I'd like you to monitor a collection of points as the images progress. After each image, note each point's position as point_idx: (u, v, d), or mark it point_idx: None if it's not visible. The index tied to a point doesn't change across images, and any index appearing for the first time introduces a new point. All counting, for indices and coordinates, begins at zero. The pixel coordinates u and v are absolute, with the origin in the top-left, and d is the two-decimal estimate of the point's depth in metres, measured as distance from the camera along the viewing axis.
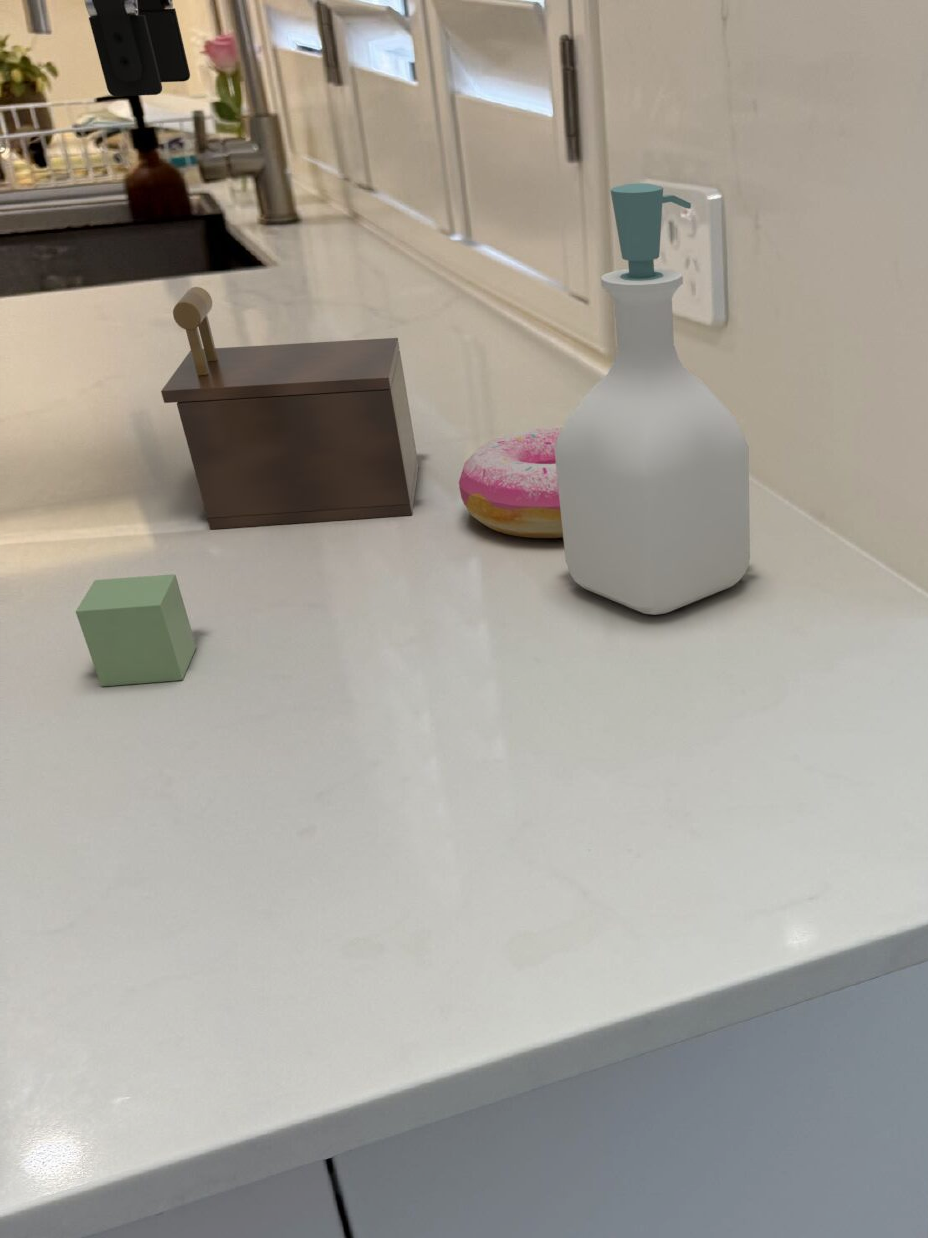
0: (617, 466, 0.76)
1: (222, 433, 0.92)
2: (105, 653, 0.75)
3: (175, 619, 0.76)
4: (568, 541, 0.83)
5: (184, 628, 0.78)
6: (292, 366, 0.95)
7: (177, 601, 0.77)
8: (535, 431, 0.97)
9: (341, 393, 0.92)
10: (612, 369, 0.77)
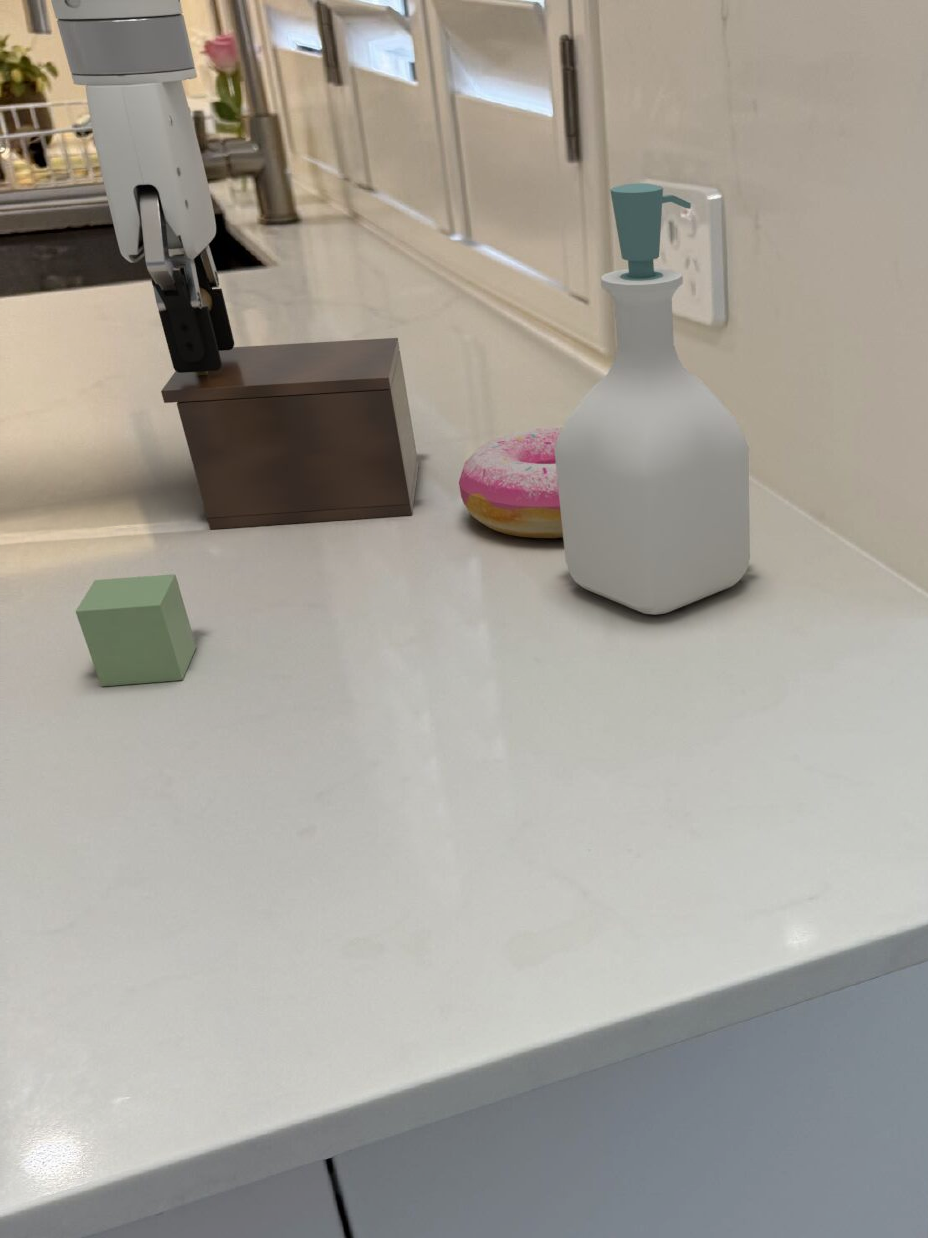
0: (617, 466, 0.76)
1: (222, 433, 0.92)
2: (105, 653, 0.75)
3: (175, 619, 0.76)
4: (568, 541, 0.83)
5: (184, 628, 0.78)
6: (292, 366, 0.95)
7: (177, 601, 0.77)
8: (535, 431, 0.97)
9: (341, 393, 0.92)
10: (611, 369, 0.77)
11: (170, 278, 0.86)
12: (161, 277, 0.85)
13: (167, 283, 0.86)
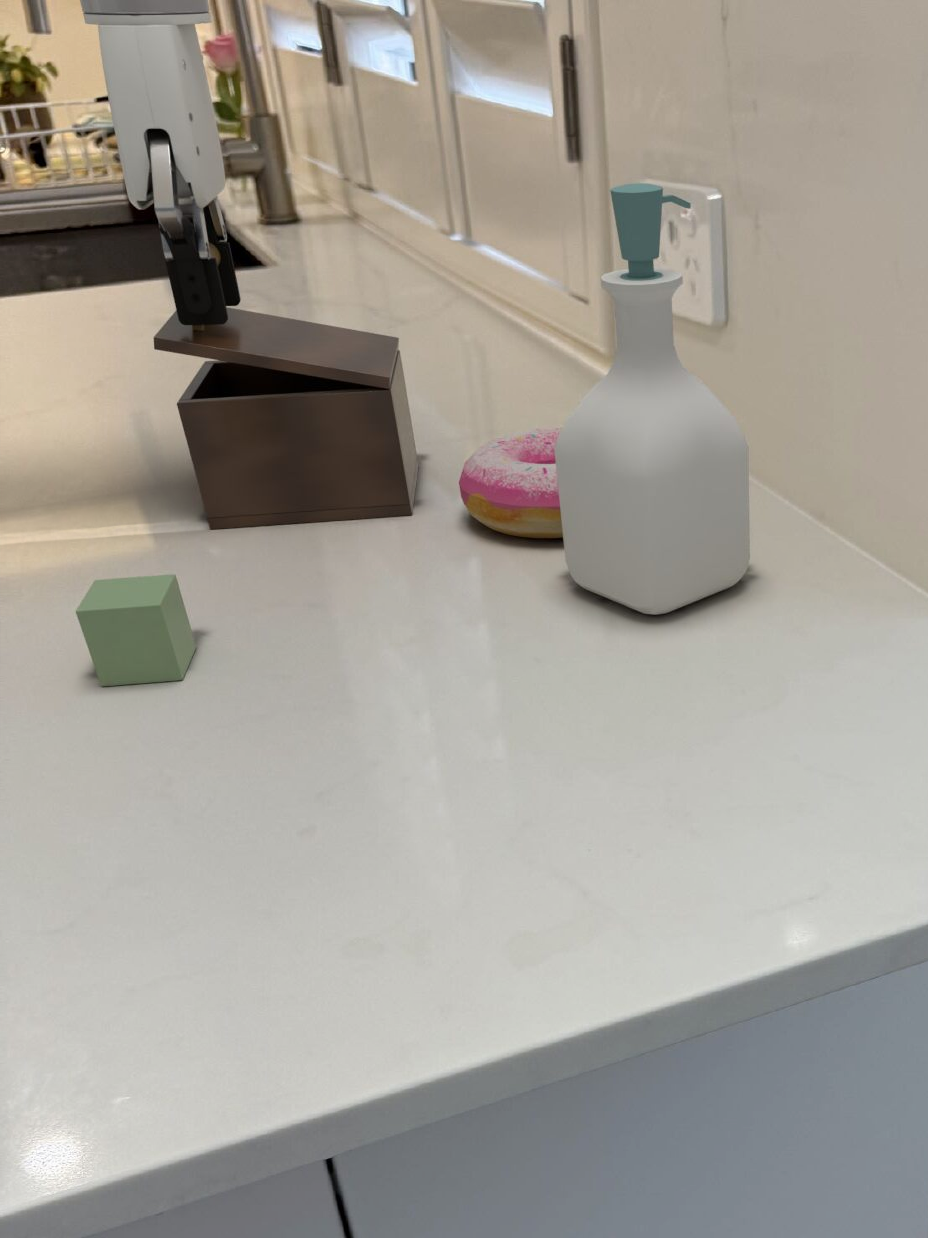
0: (617, 466, 0.76)
1: (222, 433, 0.92)
2: (105, 653, 0.75)
3: (175, 619, 0.76)
4: (568, 541, 0.83)
5: (184, 628, 0.78)
6: (291, 342, 0.94)
7: (177, 601, 0.77)
8: (535, 431, 0.97)
9: (341, 393, 0.92)
10: (611, 369, 0.77)
11: (179, 225, 0.84)
12: (170, 224, 0.84)
13: (176, 231, 0.84)
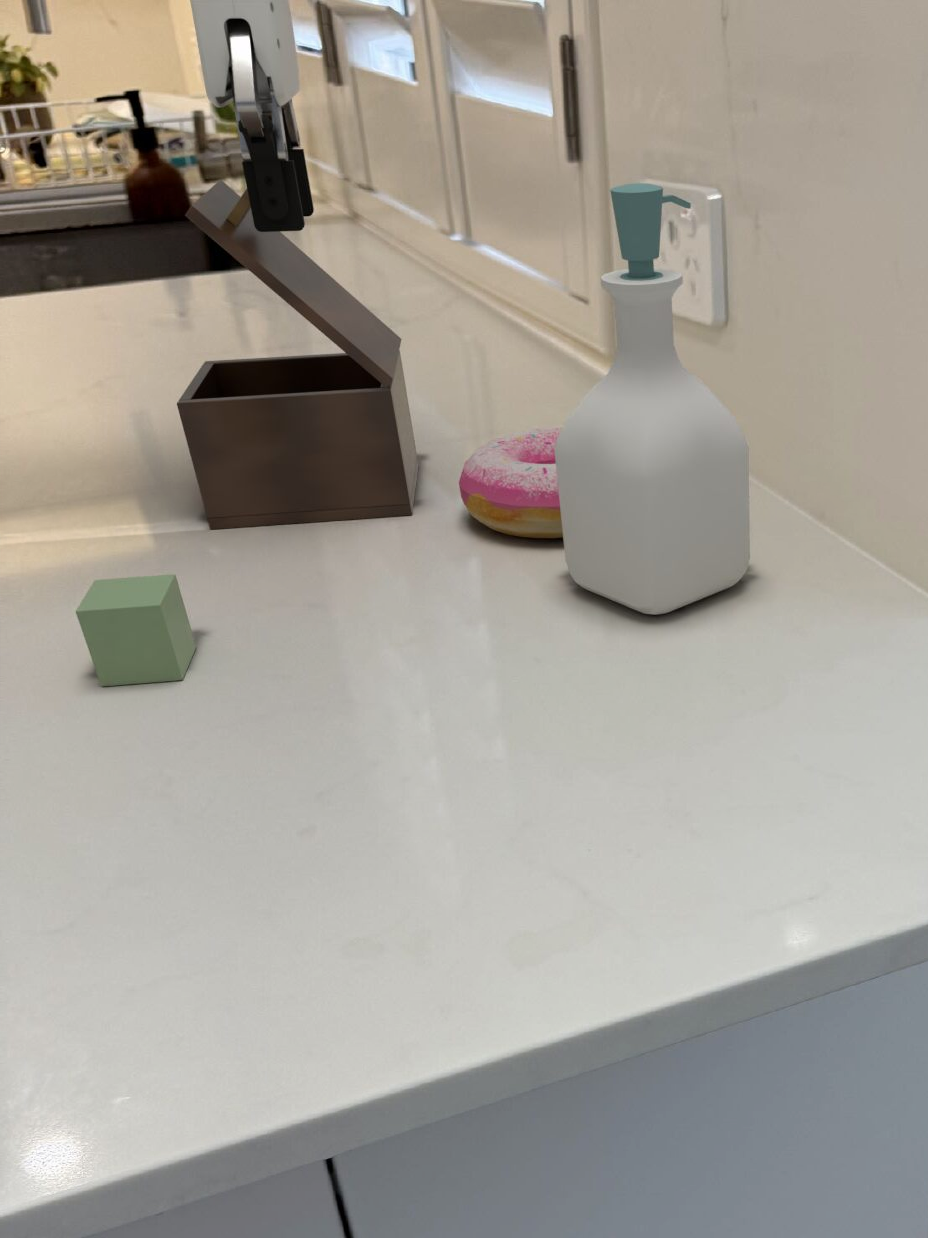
0: (617, 466, 0.76)
1: (222, 433, 0.92)
2: (105, 653, 0.75)
3: (175, 619, 0.76)
4: (568, 541, 0.83)
5: (184, 628, 0.78)
6: (312, 288, 0.92)
7: (177, 601, 0.77)
8: (535, 431, 0.97)
9: (341, 393, 0.92)
10: (611, 369, 0.77)
11: (259, 121, 0.81)
12: (250, 119, 0.81)
13: (255, 127, 0.82)
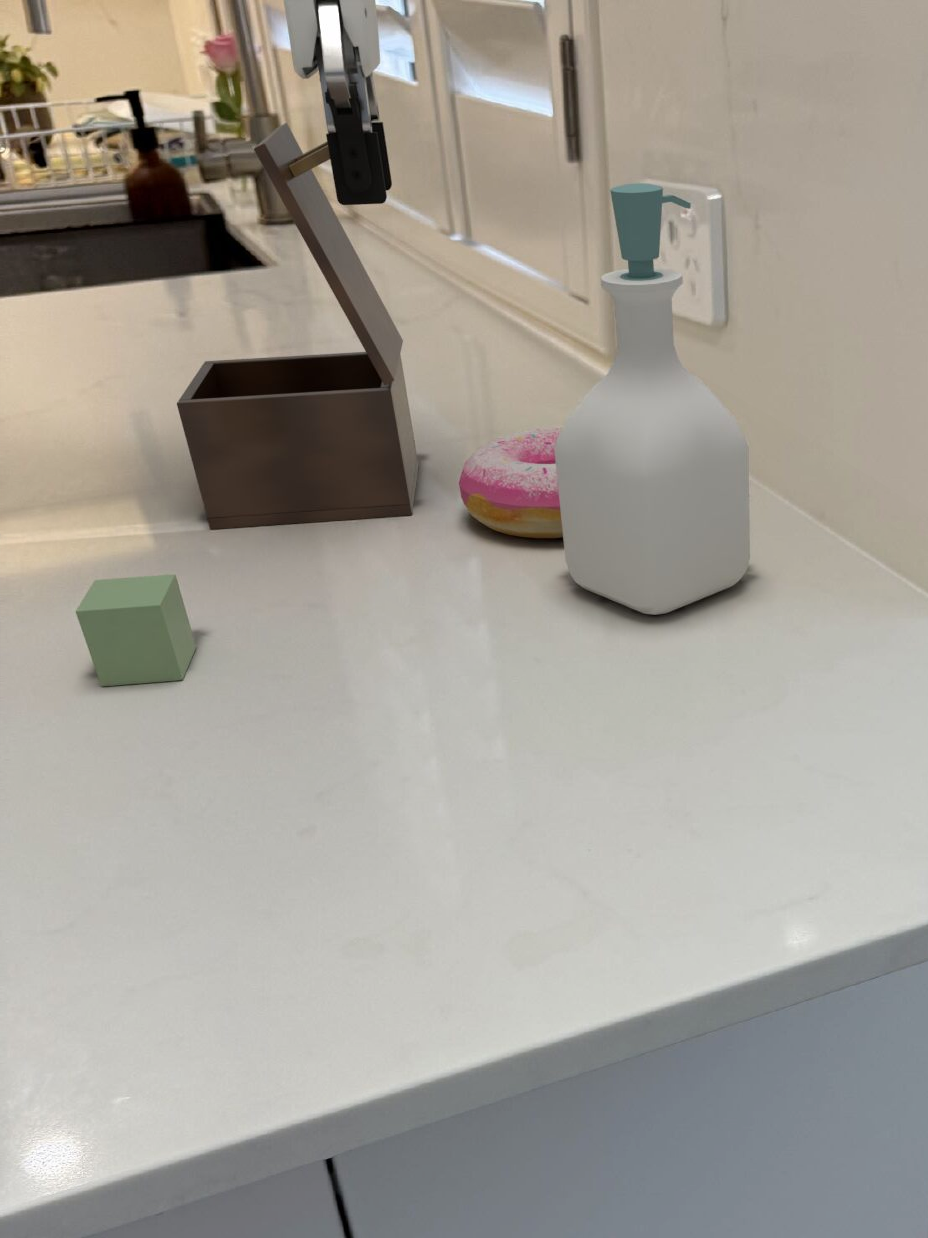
0: (617, 466, 0.76)
1: (222, 433, 0.92)
2: (105, 653, 0.75)
3: (175, 619, 0.76)
4: (568, 541, 0.83)
5: (184, 628, 0.78)
6: (344, 264, 0.91)
7: (177, 601, 0.77)
8: (535, 431, 0.97)
9: (341, 393, 0.92)
10: (611, 369, 0.77)
11: (347, 92, 0.81)
12: (338, 90, 0.81)
13: (342, 98, 0.81)
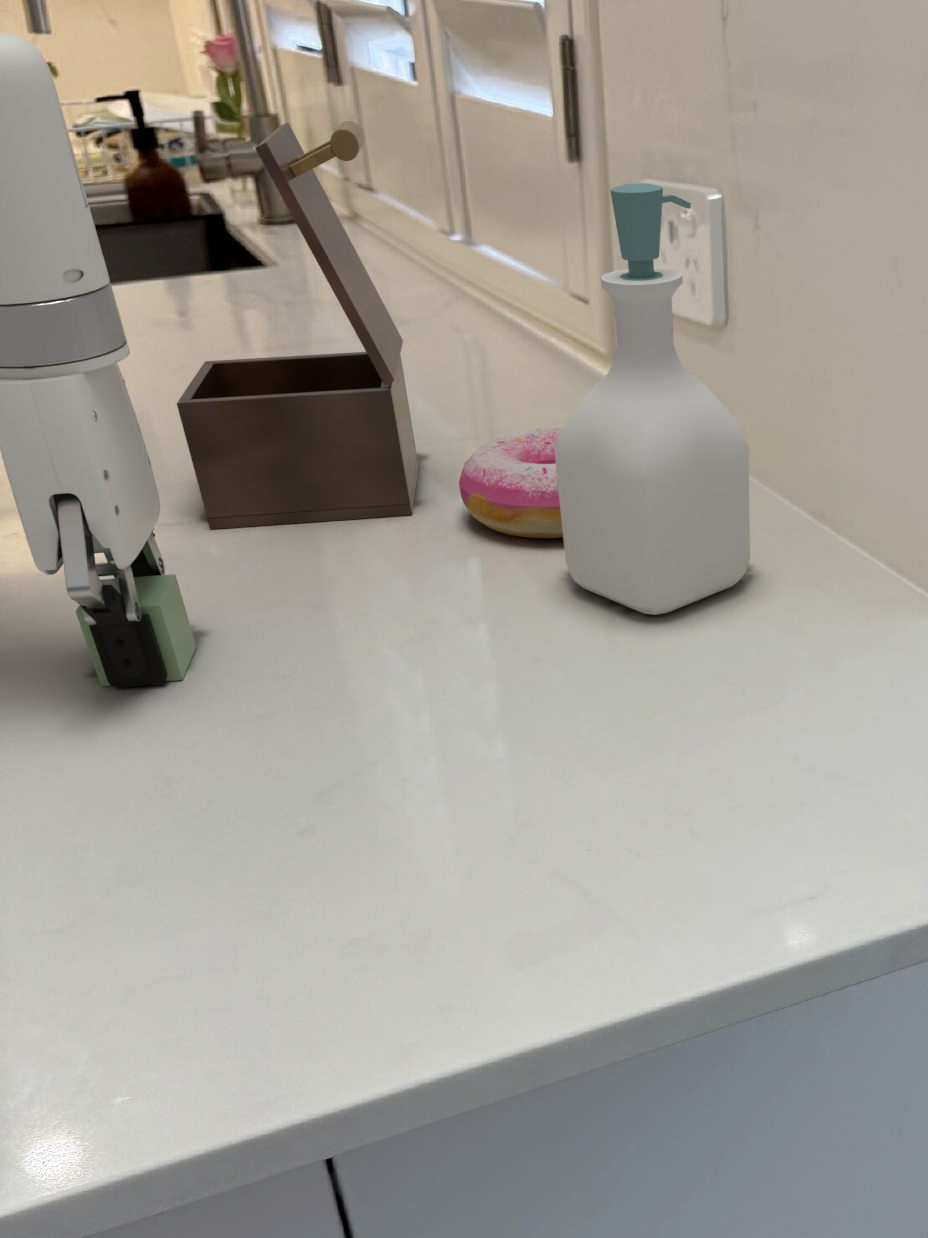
0: (617, 466, 0.76)
1: (222, 433, 0.92)
2: None
3: (175, 619, 0.76)
4: (568, 541, 0.83)
5: (184, 628, 0.78)
6: (344, 263, 0.91)
7: (177, 601, 0.77)
8: (535, 431, 0.97)
9: (341, 393, 0.92)
10: (611, 369, 0.77)
11: (99, 601, 0.69)
12: (87, 601, 0.69)
13: (95, 604, 0.70)
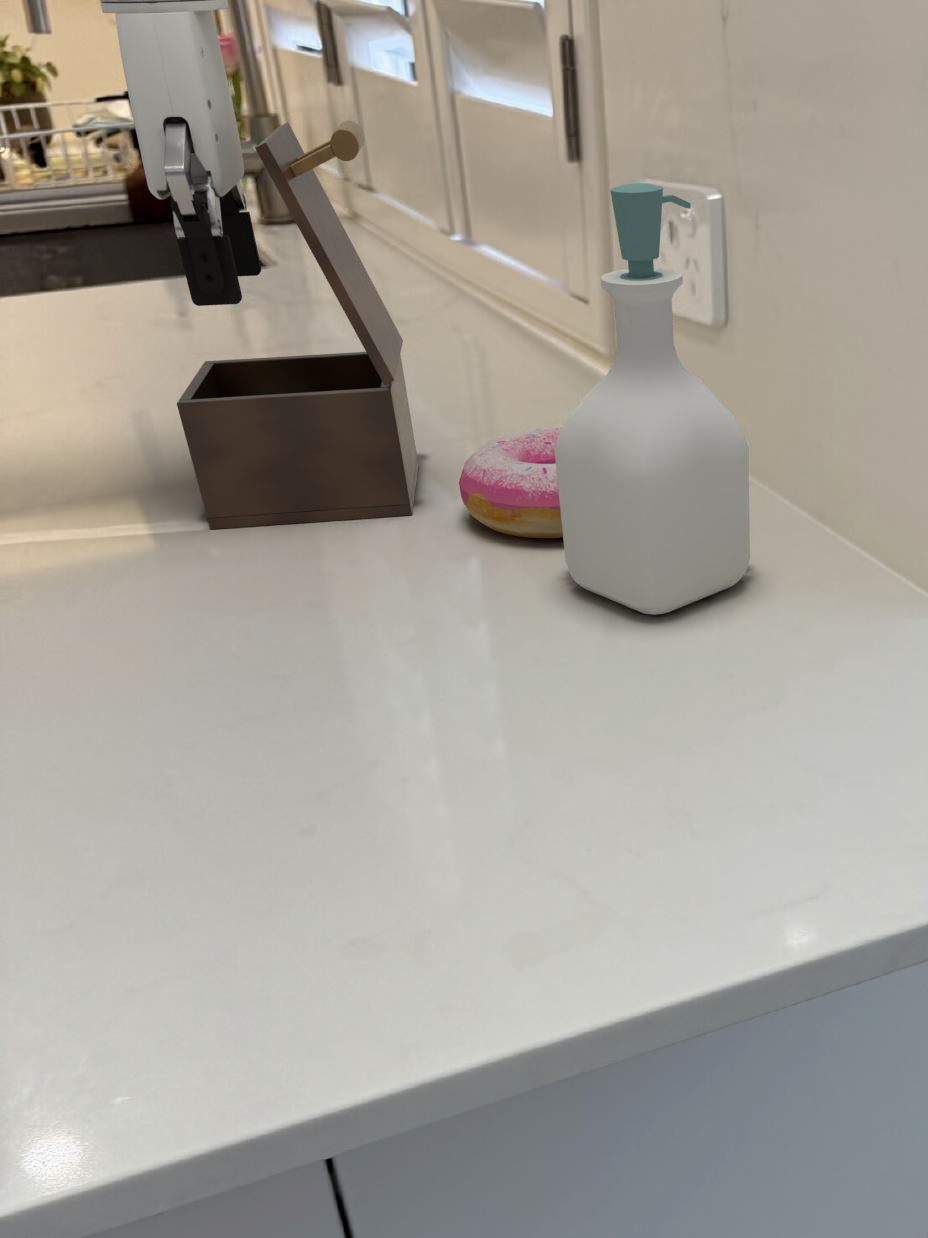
0: (617, 466, 0.76)
1: (222, 433, 0.92)
2: None
3: None
4: (568, 541, 0.83)
5: None
6: (344, 263, 0.91)
7: None
8: (535, 431, 0.97)
9: (341, 393, 0.92)
10: (611, 369, 0.77)
11: (189, 192, 0.82)
12: (179, 190, 0.81)
13: (186, 201, 0.82)
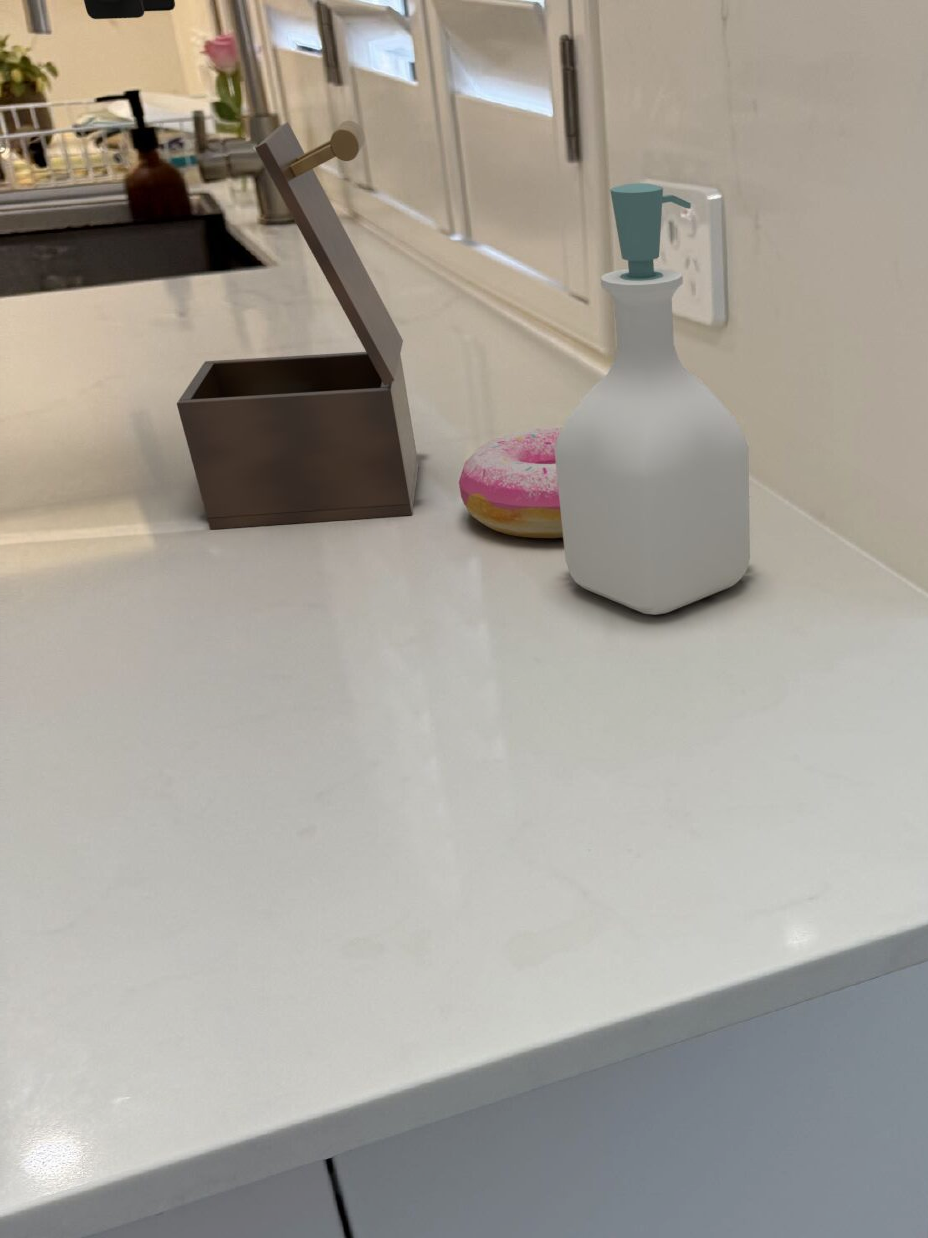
0: (617, 466, 0.76)
1: (222, 433, 0.92)
2: None
3: None
4: (568, 541, 0.83)
5: None
6: (344, 263, 0.91)
7: None
8: (535, 431, 0.97)
9: (341, 393, 0.92)
10: (611, 369, 0.77)
11: None
12: None
13: None
